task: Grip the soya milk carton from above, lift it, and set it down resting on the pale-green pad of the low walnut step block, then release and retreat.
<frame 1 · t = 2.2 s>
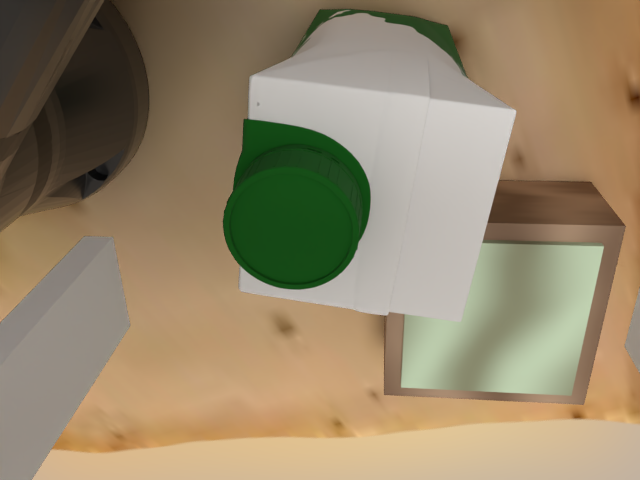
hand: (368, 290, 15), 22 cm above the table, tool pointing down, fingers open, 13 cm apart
step block: (478, 265, 40), on the table
soya milk: (375, 80, 35), on the table
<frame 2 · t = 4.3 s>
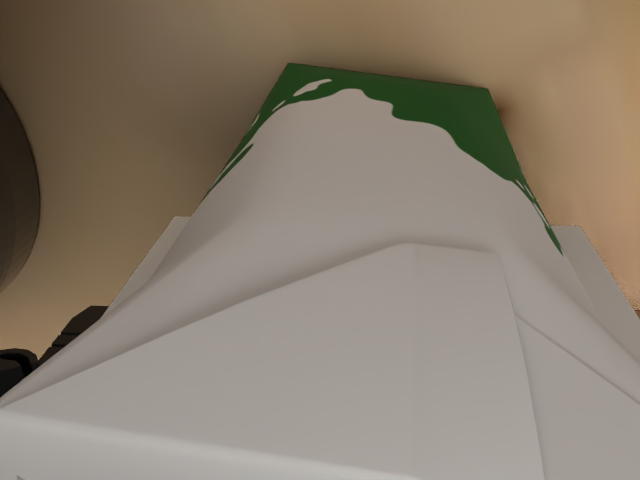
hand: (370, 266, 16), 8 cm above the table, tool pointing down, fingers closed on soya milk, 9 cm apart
soya milk: (375, 165, 23), on the table, touching gripper
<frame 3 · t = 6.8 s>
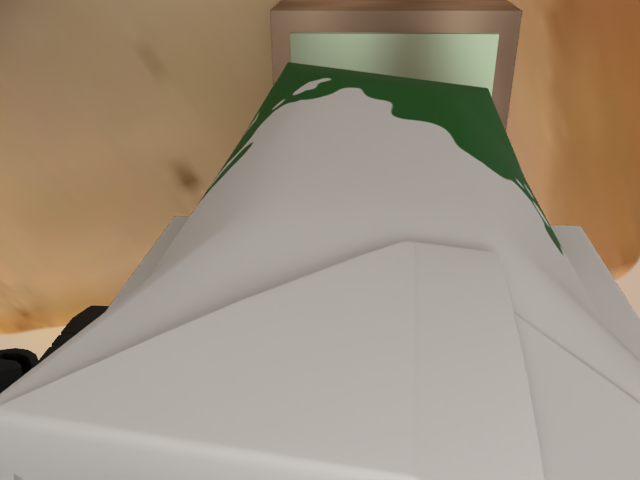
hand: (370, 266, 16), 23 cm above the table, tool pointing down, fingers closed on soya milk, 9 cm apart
step block: (387, 100, 37), on the table
soya milk: (374, 165, 23), point 15 cm above the table, touching gripper
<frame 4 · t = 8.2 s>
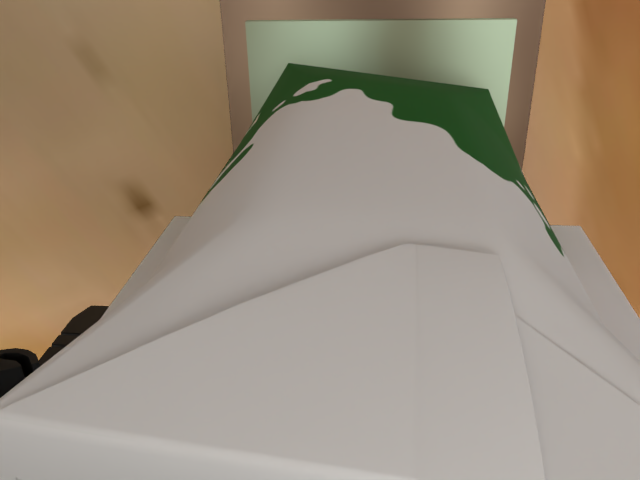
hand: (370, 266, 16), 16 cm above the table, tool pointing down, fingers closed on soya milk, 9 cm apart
step block: (377, 107, 30), on the table
soya milk: (375, 166, 23), point 8 cm above the table, touching gripper
when the fingers open (15 cm above the table, at t = 9.2 s): soya milk drops 1 cm, resting on step block.
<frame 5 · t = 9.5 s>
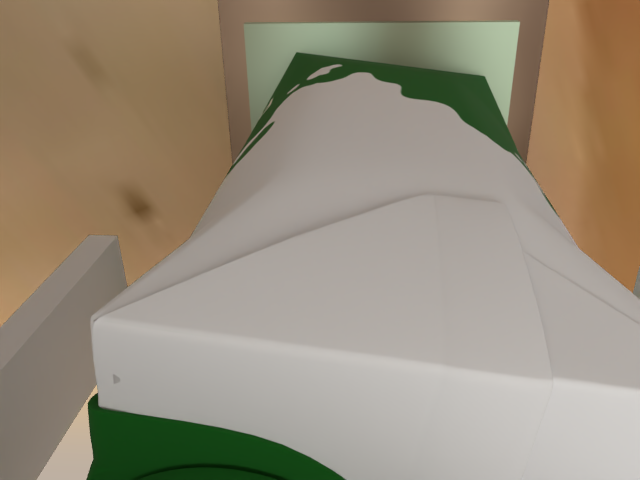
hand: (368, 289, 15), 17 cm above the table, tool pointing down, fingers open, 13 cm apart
step block: (377, 110, 30), on the table
soya milk: (377, 150, 25), point 6 cm above the table, touching step block
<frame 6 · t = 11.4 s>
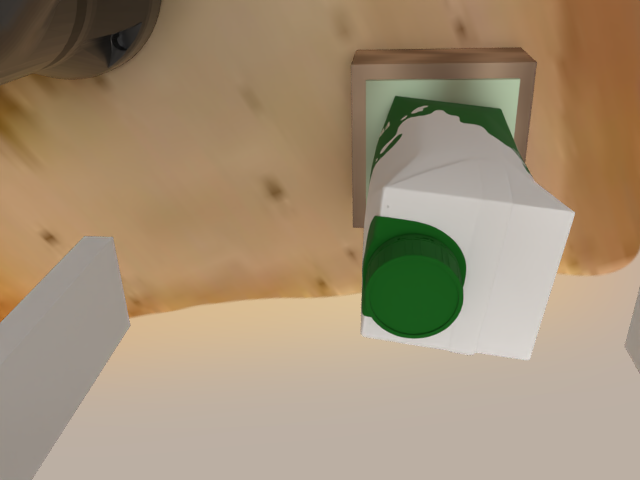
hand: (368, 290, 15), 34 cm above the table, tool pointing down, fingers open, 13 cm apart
step block: (433, 127, 48), on the table
soya milk: (439, 150, 43), point 6 cm above the table, touching step block
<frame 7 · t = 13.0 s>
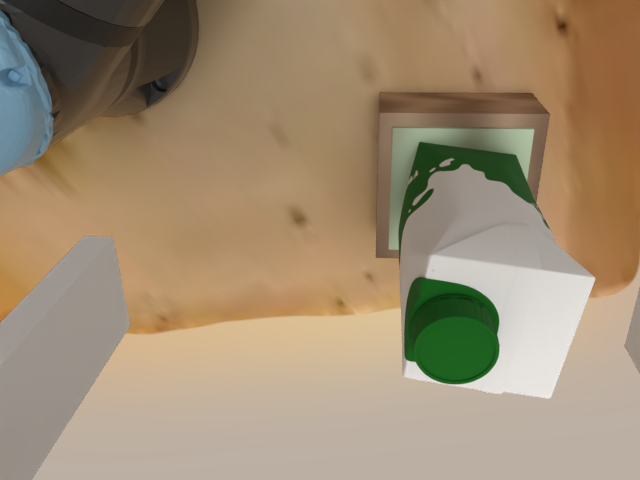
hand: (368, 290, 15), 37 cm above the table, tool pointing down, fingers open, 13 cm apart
step block: (449, 163, 52), on the table
soya milk: (458, 190, 46), point 6 cm above the table, touching step block
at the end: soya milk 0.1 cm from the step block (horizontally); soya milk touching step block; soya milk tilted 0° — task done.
